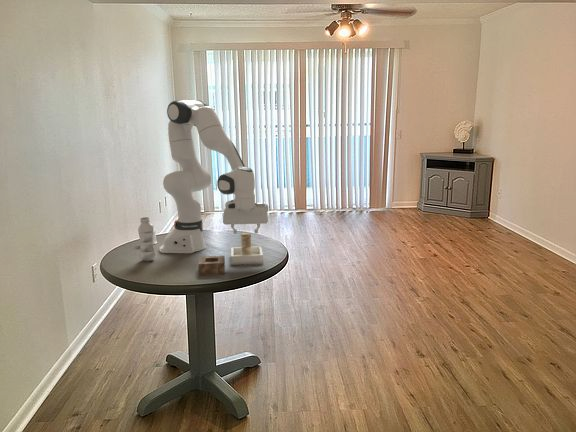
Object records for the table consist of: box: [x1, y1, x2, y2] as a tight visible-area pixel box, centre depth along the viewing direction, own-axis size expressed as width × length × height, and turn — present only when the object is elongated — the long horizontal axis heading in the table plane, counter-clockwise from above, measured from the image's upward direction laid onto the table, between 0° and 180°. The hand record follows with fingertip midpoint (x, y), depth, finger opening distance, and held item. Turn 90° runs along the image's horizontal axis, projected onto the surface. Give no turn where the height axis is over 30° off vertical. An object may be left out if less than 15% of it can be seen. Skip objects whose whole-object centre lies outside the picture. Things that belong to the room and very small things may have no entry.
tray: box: [230, 245, 264, 266], centre depth 218 cm, size 14×14×4 cm
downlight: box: [149, 223, 158, 245], centre depth 245 cm, size 8×7×10 cm
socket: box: [197, 255, 226, 277], centre depth 202 cm, size 10×10×5 cm
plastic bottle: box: [137, 216, 156, 262], centre depth 215 cm, size 6×7×20 cm
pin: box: [240, 232, 252, 255], centre depth 217 cm, size 4×4×11 cm
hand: (245, 233), depth 215 cm, fingers open, 8 cm apart
